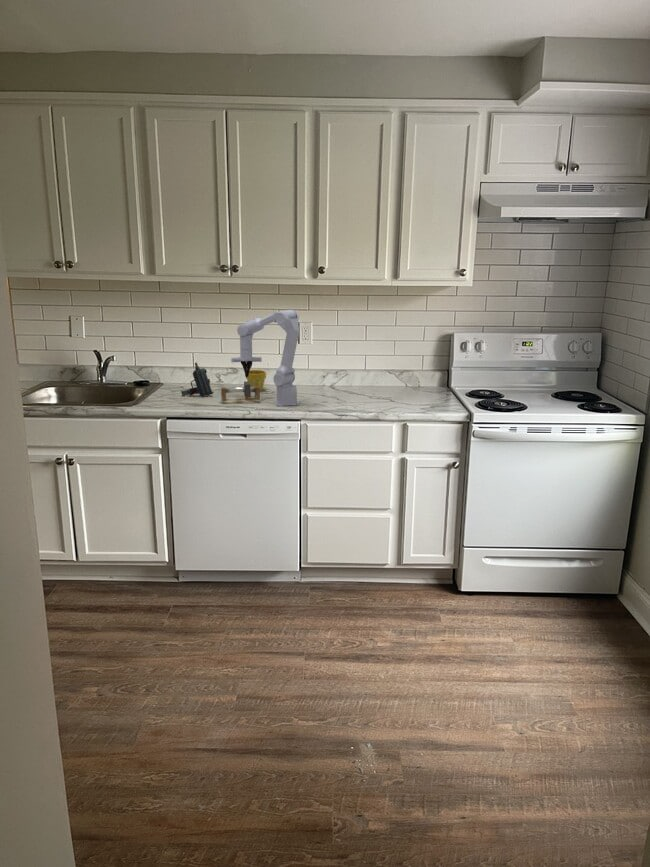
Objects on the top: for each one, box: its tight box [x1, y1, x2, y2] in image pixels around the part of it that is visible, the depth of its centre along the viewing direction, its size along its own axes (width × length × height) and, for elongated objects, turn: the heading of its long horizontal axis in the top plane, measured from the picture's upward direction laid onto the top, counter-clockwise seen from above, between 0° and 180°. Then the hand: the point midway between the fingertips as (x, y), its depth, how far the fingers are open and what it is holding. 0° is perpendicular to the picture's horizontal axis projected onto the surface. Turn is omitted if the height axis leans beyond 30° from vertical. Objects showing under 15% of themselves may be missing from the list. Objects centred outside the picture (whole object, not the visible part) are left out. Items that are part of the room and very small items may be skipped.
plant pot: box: [245, 369, 267, 392], centre depth 328 cm, size 10×10×10 cm
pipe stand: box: [220, 386, 261, 405], centre depth 305 cm, size 18×6×7 cm, turn 102°
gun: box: [180, 362, 214, 398], centre depth 313 cm, size 3×17×15 cm
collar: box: [243, 381, 252, 398], centre depth 305 cm, size 2×6×6 cm, turn 12°
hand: (246, 376), depth 312 cm, fingers closed
